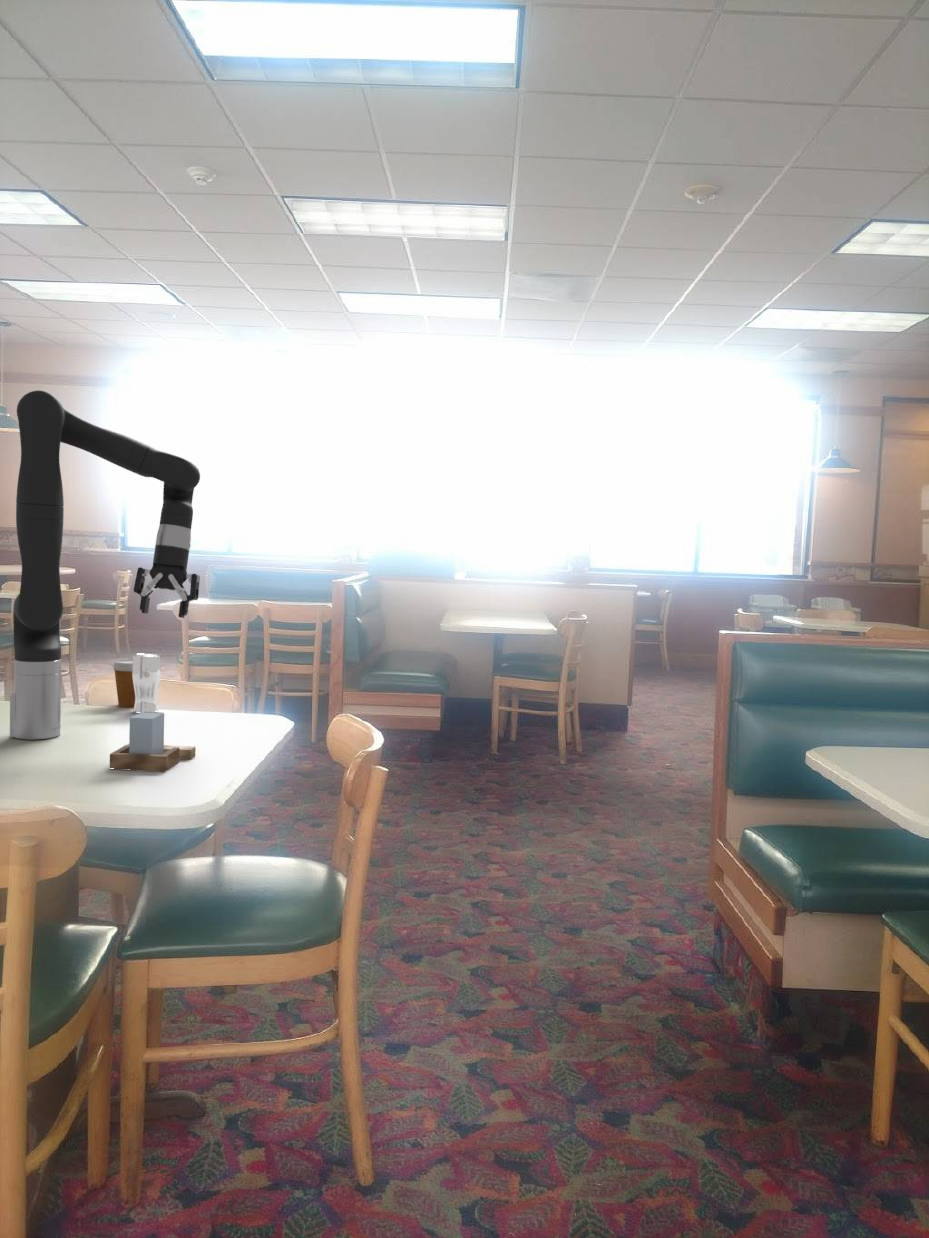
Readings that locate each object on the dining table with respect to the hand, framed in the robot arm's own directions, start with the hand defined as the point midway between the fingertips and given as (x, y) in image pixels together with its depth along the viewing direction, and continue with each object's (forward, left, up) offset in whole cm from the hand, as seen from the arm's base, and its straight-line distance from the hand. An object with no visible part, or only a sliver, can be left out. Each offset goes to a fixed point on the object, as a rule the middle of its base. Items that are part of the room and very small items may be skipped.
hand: (163, 615), depth 192 cm
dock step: (+8, -21, -28) cm, 36 cm away
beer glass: (-13, +24, -28) cm, 39 cm away
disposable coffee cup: (-20, +32, -28) cm, 46 cm away
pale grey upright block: (+7, -28, -28) cm, 40 cm away
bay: (+8, -28, -28) cm, 40 cm away
